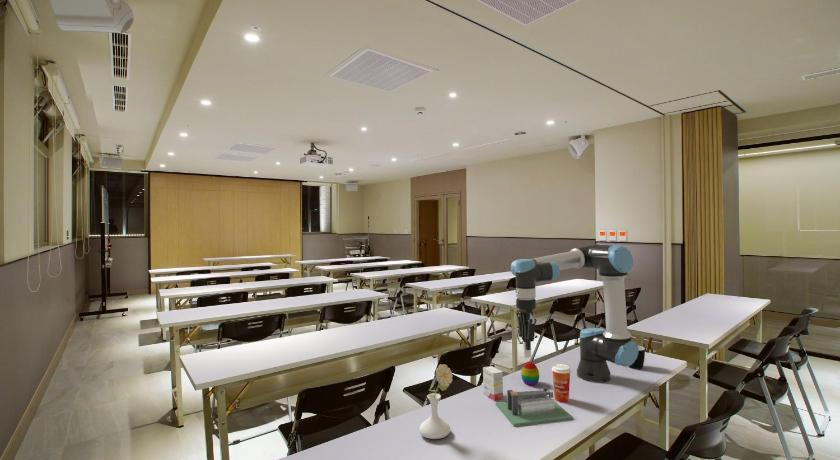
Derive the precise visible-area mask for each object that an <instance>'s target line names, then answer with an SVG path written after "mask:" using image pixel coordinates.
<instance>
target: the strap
mask: <svg viewBox="0 0 840 460" xmlns="http://www.w3.org/2000/svg"><path fill="white" fill-rule="evenodd" d="M549 392H550V390H549V389H548V390H547V389H546V390H543V389H542V390H540V389H539V390H529V391H527V390H526V391H515V390H513V391H511V392H510V396H511V397H512V395H516V394H517V397H530V396H544V395H547V396H549Z"/></svg>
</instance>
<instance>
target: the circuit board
mask: <svg viewBox="0 0 840 460" xmlns="http://www.w3.org/2000/svg"><path fill="white" fill-rule="evenodd" d="M554 403H555V413H551V414H543V415H535V416H527V417H521V416H520V415H519V414H516V415H513V414H512V409H510V410H508V407H507V400H506V401H505V400H504V401H498V402H497V401H496V402H495V406H496V407H497V409H499V411H500V412H501V413H502V414H503V416H505V418H506V419H507V421H508V422H509V423H510V424H511V425H512V426H513V427H520V426H529V425H535V424H536V425H537V424H544V423H545V424H546V423H551V422H560V421H561V422H562V421H567V420H573V415H572V414H570V413H569V412H568V411H567V410H565V409H564V408H563V407H562V406H561V405H559V404H558V403H557V402H556V400H554Z"/></svg>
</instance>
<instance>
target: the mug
mask: <svg viewBox="0 0 840 460" xmlns="http://www.w3.org/2000/svg"><path fill="white" fill-rule="evenodd" d="M638 350H639V351H638V356H637V358H636V360H635V362H634V363H633V364H632V365H630V366H627V367H628V368H630V369H632V370H642V369H643V367H644V365H645V364H644V363H645V360H646V359H645V357H646V348H645V347H644V346H641V345H638Z"/></svg>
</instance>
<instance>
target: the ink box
mask: <svg viewBox="0 0 840 460" xmlns="http://www.w3.org/2000/svg"><path fill="white" fill-rule="evenodd" d="M482 377H483V378H482V381H483V384H482V385H483V387H482V388H483V394H484V395H485V396H486V397H487V398H489V399H490V400H492V401H494V402H495V401H496V402H497V401H499V400H503V399H504V388H503V387H504V385H503V383H504V381H503V380H504V379H503V377H504V376H503V372H502V371H501V370H499V369H497V368H496V367H494V366H492V365H489V366H484V367H482Z"/></svg>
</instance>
